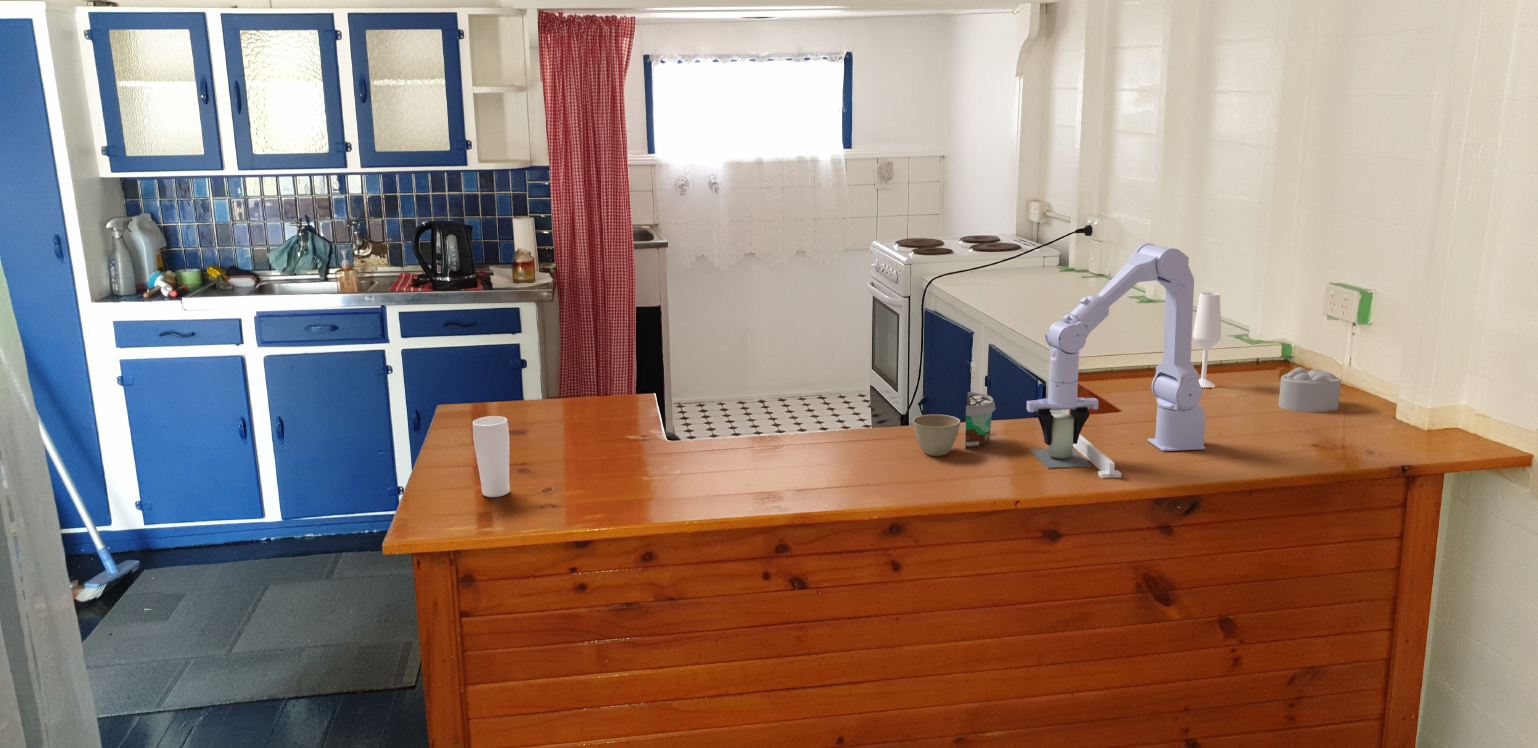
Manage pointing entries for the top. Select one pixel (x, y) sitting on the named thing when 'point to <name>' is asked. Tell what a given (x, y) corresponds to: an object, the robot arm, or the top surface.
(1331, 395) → the lumpy-topped squat cylinder
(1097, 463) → the low wall
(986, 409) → the food container
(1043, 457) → the mat
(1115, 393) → the top surface
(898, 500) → the top surface
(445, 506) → the top surface
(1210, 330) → the champagne flute
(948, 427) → the flower pot
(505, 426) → the drinking glass
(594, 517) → the top surface
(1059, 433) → the green cylinder
